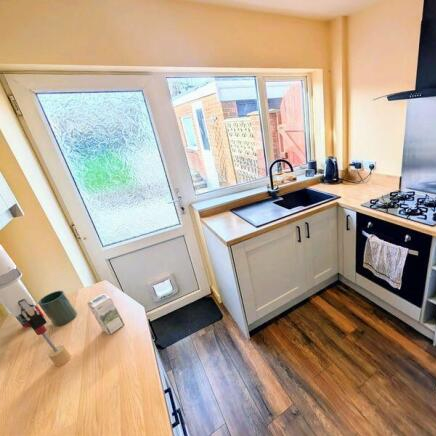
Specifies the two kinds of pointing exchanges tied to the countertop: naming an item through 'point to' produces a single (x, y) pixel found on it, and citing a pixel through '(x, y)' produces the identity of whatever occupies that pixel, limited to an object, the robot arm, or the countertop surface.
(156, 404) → the countertop surface
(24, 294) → the robot arm
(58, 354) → the bottle brush
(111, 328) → the syrup box
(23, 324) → the beverage can
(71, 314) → the dark green mug
